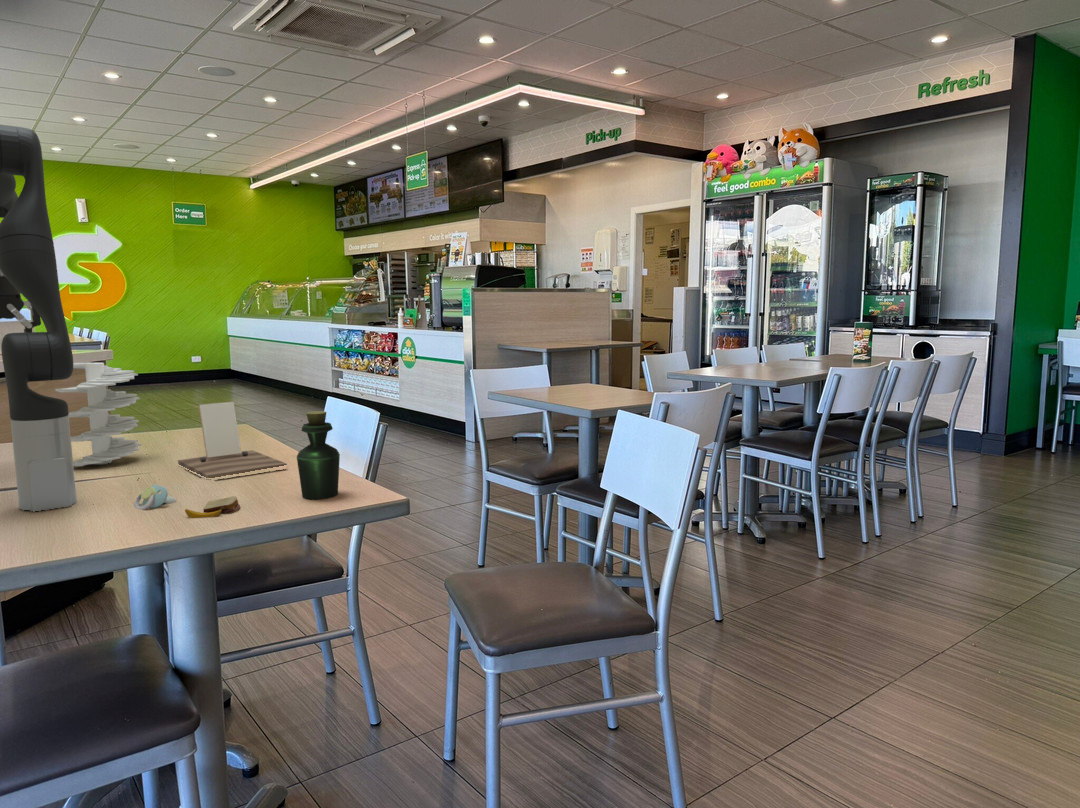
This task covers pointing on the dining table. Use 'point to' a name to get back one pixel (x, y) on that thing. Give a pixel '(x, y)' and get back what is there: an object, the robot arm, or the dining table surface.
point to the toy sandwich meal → (216, 508)
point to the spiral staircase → (104, 413)
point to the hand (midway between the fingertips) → (5, 345)
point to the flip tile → (219, 429)
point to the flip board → (230, 464)
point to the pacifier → (153, 497)
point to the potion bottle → (318, 460)
